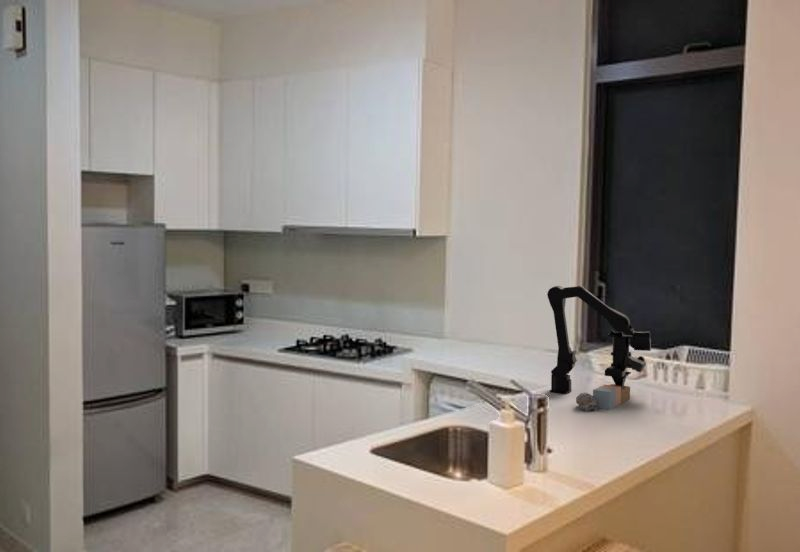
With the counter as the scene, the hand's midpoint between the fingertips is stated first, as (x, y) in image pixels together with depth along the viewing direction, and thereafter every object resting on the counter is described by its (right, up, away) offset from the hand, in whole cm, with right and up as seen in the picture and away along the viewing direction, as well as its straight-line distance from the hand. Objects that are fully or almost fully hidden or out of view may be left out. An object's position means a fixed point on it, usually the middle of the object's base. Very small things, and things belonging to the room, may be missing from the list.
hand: (620, 391), depth 262 cm
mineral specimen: (-17, -3, -17) cm, 24 cm away
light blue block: (-10, -3, -16) cm, 19 cm away
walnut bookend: (-3, -2, -5) cm, 7 cm away
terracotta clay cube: (-7, -2, -11) cm, 14 cm away
